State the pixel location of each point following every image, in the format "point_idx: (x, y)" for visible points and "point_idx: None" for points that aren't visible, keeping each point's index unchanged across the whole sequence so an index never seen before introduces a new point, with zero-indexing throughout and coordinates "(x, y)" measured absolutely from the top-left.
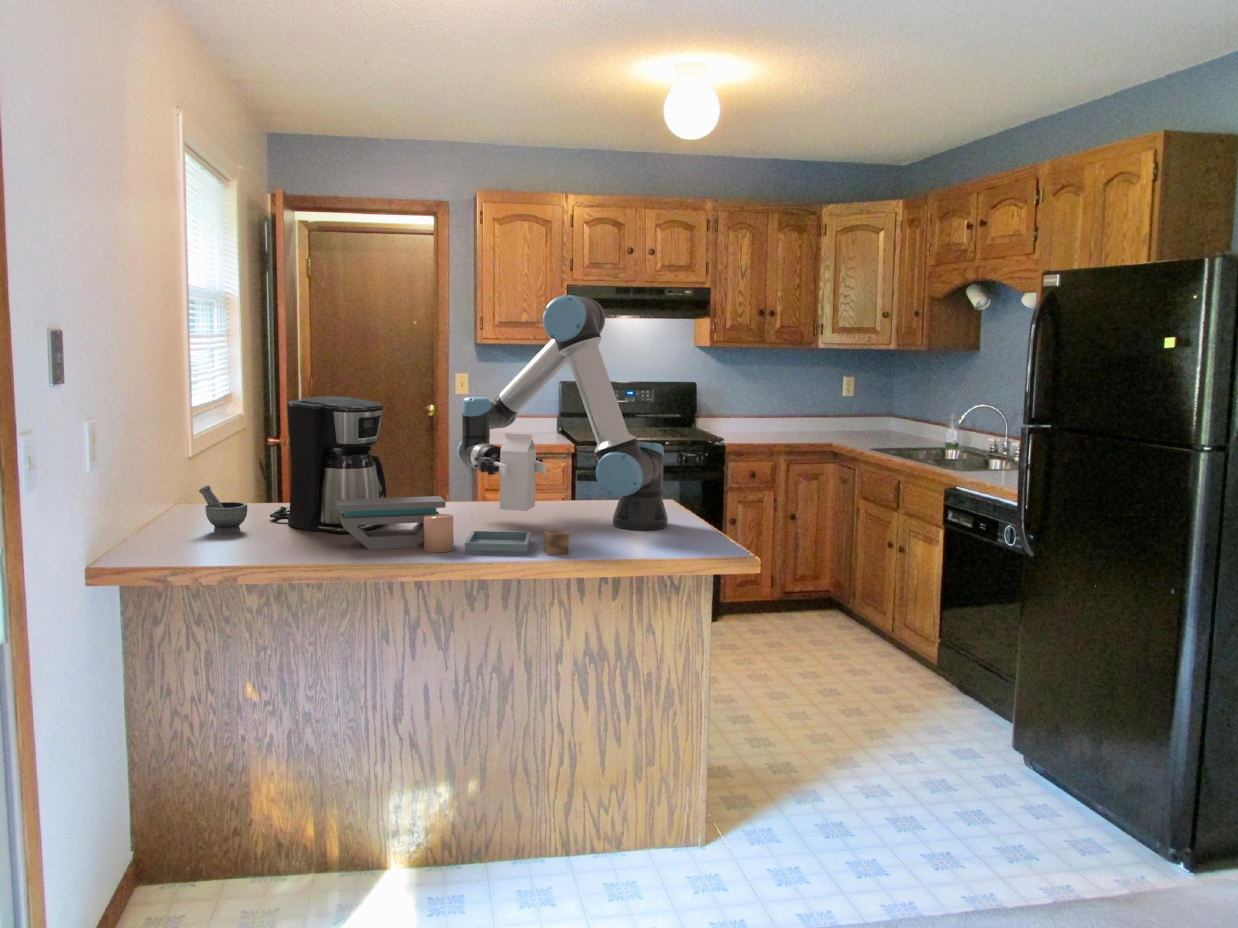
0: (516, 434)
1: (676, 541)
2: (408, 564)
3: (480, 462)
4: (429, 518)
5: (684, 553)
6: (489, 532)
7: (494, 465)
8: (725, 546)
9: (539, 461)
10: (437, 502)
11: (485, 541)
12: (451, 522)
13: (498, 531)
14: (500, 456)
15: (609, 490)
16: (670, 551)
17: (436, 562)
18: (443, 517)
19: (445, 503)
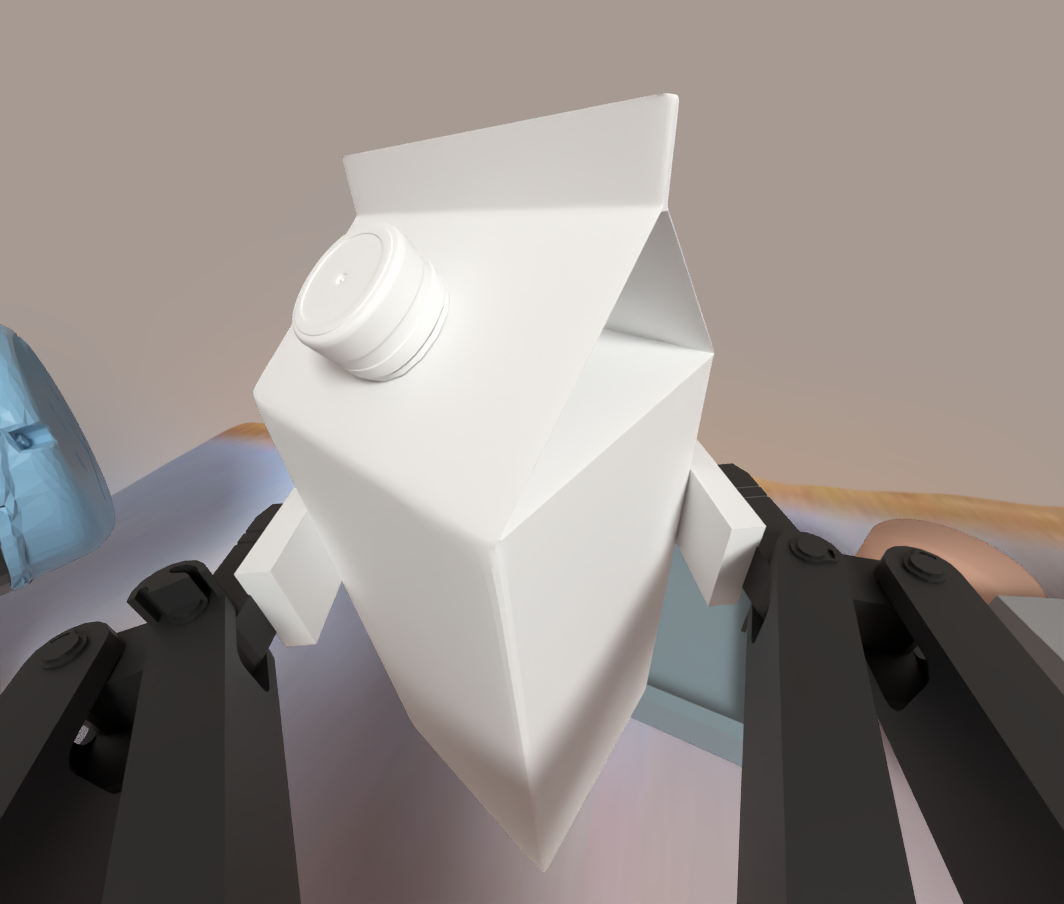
0: (487, 143)
1: (141, 549)
2: (900, 511)
3: (970, 594)
4: (968, 535)
5: (271, 466)
6: (687, 703)
7: (743, 489)
8: (135, 488)
9: (295, 487)
10: (1047, 602)
11: (701, 665)
12: (861, 546)
13: (645, 690)
14: (699, 411)
15: (114, 518)
16: (274, 481)
17: (827, 512)
18: (908, 537)
19: (989, 603)
